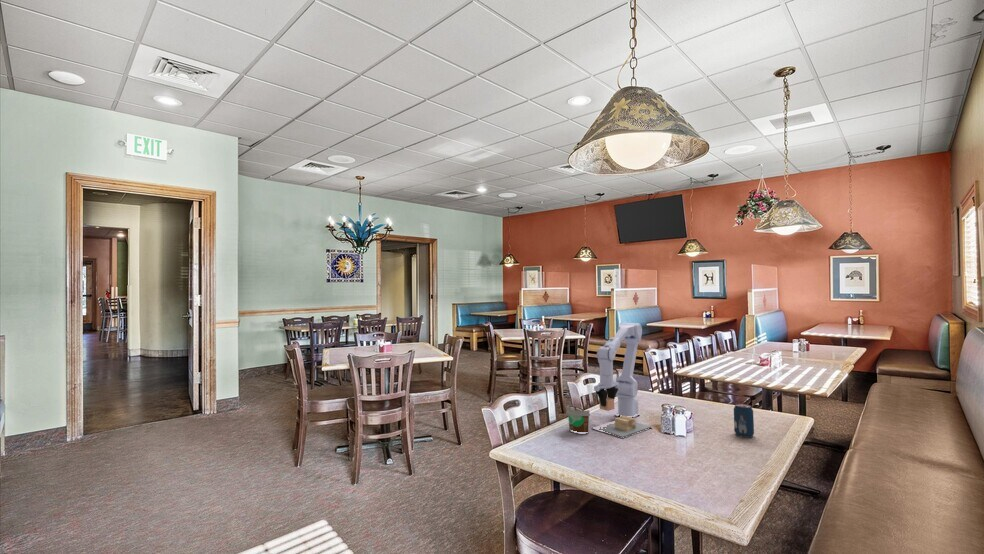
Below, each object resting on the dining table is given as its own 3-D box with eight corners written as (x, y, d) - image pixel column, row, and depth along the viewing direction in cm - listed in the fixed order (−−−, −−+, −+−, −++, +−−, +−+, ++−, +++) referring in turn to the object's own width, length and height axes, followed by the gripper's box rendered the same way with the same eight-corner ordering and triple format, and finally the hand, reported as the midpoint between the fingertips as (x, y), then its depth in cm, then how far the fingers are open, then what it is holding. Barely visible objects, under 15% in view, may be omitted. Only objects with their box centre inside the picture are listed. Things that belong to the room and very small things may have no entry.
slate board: (620, 419, 202) (620, 418, 202) (651, 428, 189) (651, 426, 189) (591, 429, 190) (591, 427, 190) (622, 438, 177) (622, 436, 177)
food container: (561, 428, 191) (560, 405, 191) (572, 426, 194) (572, 403, 194) (578, 437, 180) (577, 412, 180) (590, 434, 183) (589, 410, 183)
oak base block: (623, 424, 192) (623, 415, 193) (635, 428, 188) (635, 418, 188) (615, 427, 189) (614, 418, 189) (627, 431, 184) (626, 421, 184)
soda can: (749, 432, 182) (748, 403, 182) (757, 438, 175) (756, 407, 175) (731, 432, 182) (730, 403, 183) (739, 438, 175) (738, 407, 176)
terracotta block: (606, 406, 199) (605, 396, 199) (614, 409, 195) (614, 398, 196) (599, 408, 196) (599, 398, 196) (607, 410, 193) (607, 400, 193)
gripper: (609, 371, 204) (610, 400, 203) (588, 375, 195) (589, 406, 195) (622, 373, 198) (623, 403, 198) (601, 377, 189) (601, 409, 189)
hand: (607, 405), depth 196 cm, fingers closed on terracotta block, 4 cm apart
